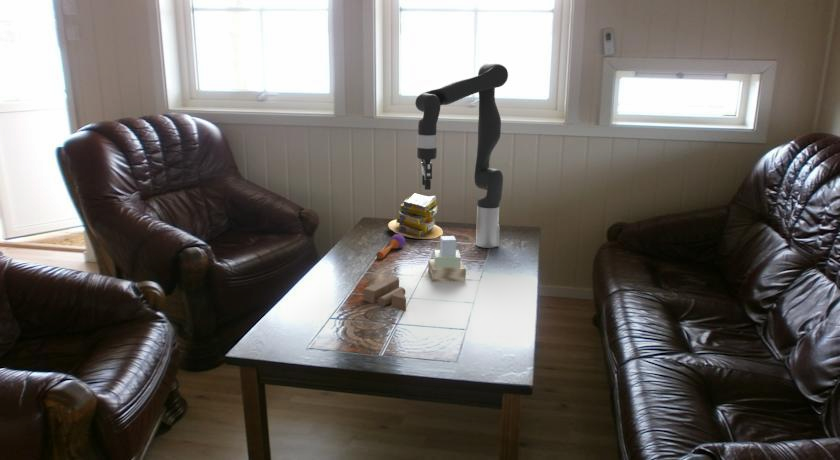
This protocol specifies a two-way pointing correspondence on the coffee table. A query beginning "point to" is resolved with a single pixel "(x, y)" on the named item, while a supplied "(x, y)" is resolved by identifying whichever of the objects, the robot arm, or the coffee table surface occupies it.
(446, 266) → the tower top
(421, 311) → the coffee table surface
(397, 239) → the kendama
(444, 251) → the blue block
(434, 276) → the tower base
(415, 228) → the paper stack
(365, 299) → the wooden block set
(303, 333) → the coffee table surface
